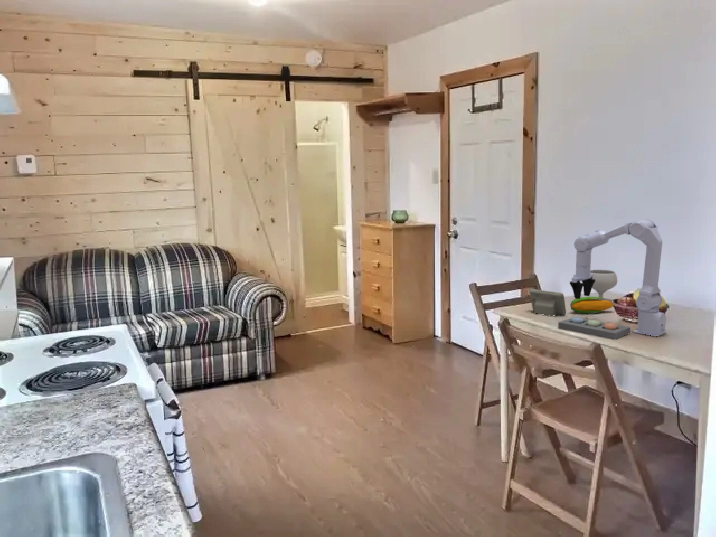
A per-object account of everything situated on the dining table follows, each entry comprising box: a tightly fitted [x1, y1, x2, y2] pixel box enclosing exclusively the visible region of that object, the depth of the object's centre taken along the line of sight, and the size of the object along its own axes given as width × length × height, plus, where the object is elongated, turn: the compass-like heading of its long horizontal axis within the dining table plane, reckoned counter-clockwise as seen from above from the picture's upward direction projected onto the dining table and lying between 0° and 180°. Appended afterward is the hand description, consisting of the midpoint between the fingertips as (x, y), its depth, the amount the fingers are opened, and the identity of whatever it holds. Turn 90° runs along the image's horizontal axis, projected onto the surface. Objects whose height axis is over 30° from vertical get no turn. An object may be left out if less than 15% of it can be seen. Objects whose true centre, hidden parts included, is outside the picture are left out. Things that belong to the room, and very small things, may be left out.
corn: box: [569, 296, 614, 315], centre depth 277 cm, size 7×8×20 cm
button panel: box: [557, 317, 631, 340], centre depth 247 cm, size 24×12×2 cm, turn 41°
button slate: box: [571, 316, 584, 324], centre depth 252 cm, size 4×4×2 cm
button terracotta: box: [604, 322, 618, 330], centre depth 242 cm, size 4×4×2 cm
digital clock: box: [529, 288, 567, 317], centre depth 277 cm, size 16×9×11 cm, turn 35°
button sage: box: [587, 319, 601, 327], centre depth 247 cm, size 4×4×2 cm
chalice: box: [590, 269, 618, 302], centre depth 295 cm, size 14×14×15 cm
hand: (582, 297), depth 263 cm, fingers open, 7 cm apart
